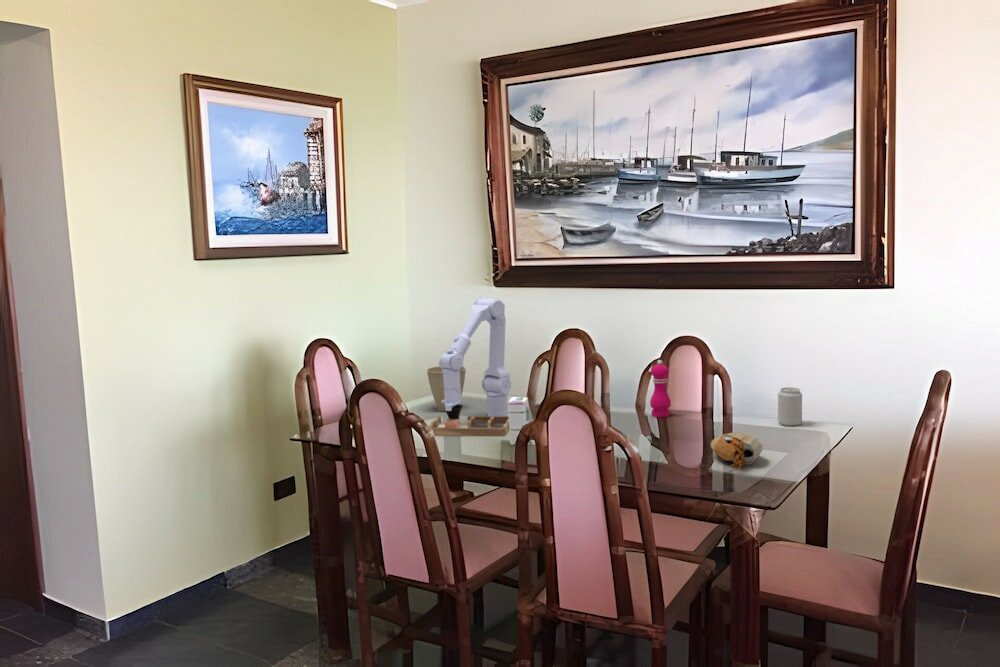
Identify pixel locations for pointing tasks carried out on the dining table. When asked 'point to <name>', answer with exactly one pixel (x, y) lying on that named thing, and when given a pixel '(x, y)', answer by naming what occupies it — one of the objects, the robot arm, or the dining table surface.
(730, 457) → the nautilus
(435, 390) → the plant pot
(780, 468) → the dining table surface
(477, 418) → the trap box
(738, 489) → the dining table surface
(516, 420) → the syrup box
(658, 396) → the pepper mill
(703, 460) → the dining table surface
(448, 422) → the coral block
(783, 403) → the can
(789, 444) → the dining table surface
